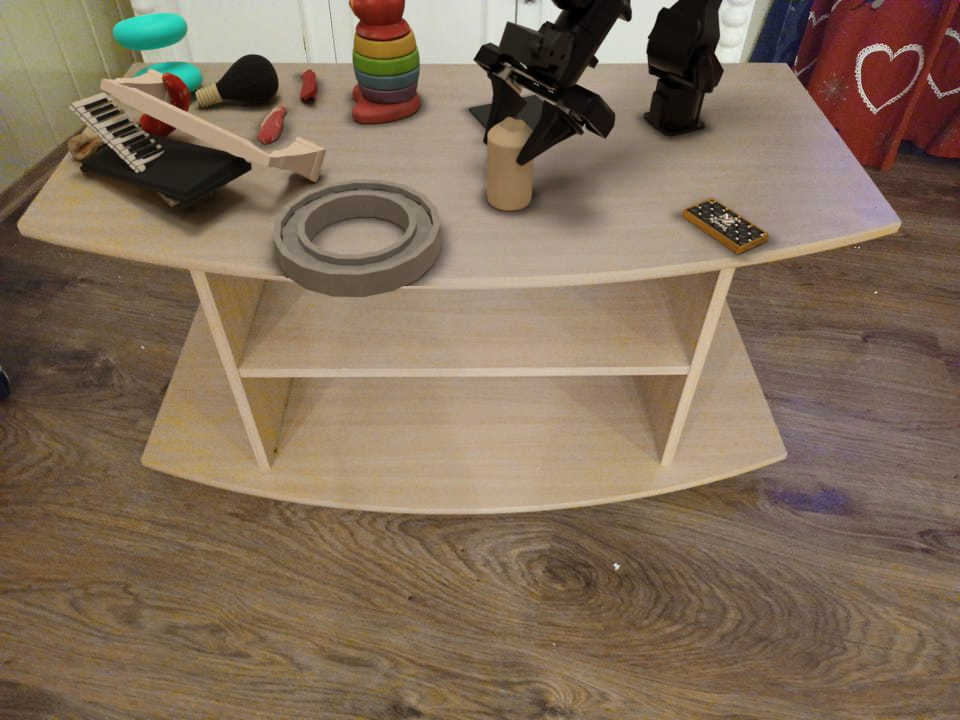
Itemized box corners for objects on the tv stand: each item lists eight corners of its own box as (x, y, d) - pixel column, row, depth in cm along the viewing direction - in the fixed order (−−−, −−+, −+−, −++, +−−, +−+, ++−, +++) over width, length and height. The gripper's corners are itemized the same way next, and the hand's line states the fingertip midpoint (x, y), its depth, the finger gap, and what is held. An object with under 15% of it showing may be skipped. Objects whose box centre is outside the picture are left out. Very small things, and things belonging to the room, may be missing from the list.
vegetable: (122, 116, 97) (162, 62, 90) (161, 125, 102) (203, 74, 94) (128, 146, 97) (169, 94, 89) (167, 154, 101) (210, 104, 93)
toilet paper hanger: (85, 96, 86) (92, 60, 85) (146, 101, 96) (152, 69, 94) (273, 185, 83) (283, 149, 81) (316, 181, 92) (326, 149, 91)
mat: (535, 96, 110) (535, 94, 109) (567, 126, 103) (568, 124, 103) (468, 109, 106) (468, 107, 106) (497, 141, 100) (497, 139, 100)
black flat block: (683, 208, 87) (712, 196, 89) (681, 216, 88) (710, 204, 90) (740, 246, 82) (770, 233, 83) (737, 254, 82) (767, 241, 84)
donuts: (192, 78, 114) (127, 93, 109) (171, 8, 108) (101, 21, 103) (214, 89, 107) (146, 106, 102) (193, 15, 101) (119, 30, 97)
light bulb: (180, 71, 101) (262, 43, 101) (194, 80, 108) (271, 53, 108) (200, 119, 103) (280, 91, 103) (213, 125, 109) (288, 98, 109)
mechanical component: (473, 252, 82) (473, 230, 80) (330, 320, 74) (326, 298, 72) (383, 184, 92) (381, 163, 90) (249, 238, 84) (243, 216, 81)
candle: (490, 213, 88) (492, 136, 81) (483, 188, 91) (484, 113, 84) (535, 209, 88) (540, 133, 81) (526, 184, 92) (530, 109, 85)
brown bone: (159, 89, 104) (176, 98, 104) (161, 106, 106) (177, 114, 106) (62, 138, 93) (80, 148, 93) (66, 156, 95) (84, 166, 95)
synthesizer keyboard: (185, 199, 80) (202, 260, 88) (251, 156, 85) (261, 217, 93) (53, 109, 85) (81, 174, 93) (123, 73, 90) (143, 138, 98)
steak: (274, 139, 98) (252, 140, 98) (275, 143, 99) (254, 144, 99) (290, 104, 105) (270, 105, 105) (292, 108, 105) (271, 109, 105)
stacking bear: (352, 90, 110) (337, -38, 98) (419, 88, 111) (413, -40, 99) (352, 125, 103) (336, -10, 90) (424, 122, 104) (418, -12, 91)
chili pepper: (306, 99, 104) (317, 108, 105) (325, 72, 104) (336, 82, 105) (288, 92, 114) (298, 100, 115) (306, 68, 113) (316, 76, 115)
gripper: (486, -33, 80) (411, 92, 83) (611, 17, 70) (521, 158, 73) (534, 23, 89) (465, 134, 92) (651, 74, 79) (570, 198, 82)
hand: (501, 154), depth 85 cm, fingers closed on candle, 5 cm apart
